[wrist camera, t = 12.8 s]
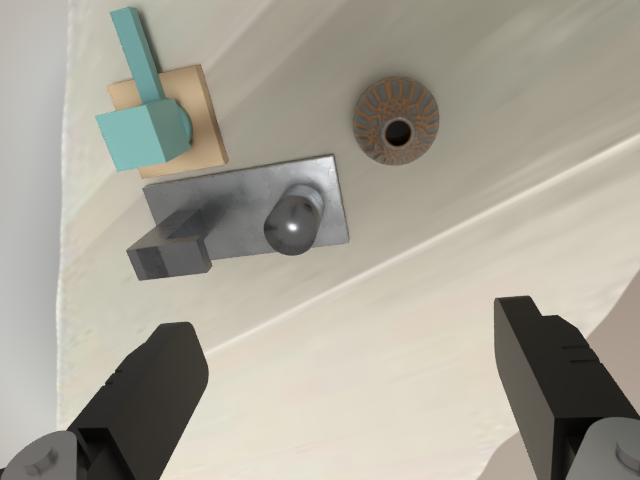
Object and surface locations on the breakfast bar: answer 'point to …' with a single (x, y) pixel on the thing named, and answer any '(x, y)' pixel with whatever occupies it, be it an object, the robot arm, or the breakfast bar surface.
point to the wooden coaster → (197, 103)
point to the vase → (396, 121)
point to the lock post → (240, 216)
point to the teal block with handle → (144, 108)
